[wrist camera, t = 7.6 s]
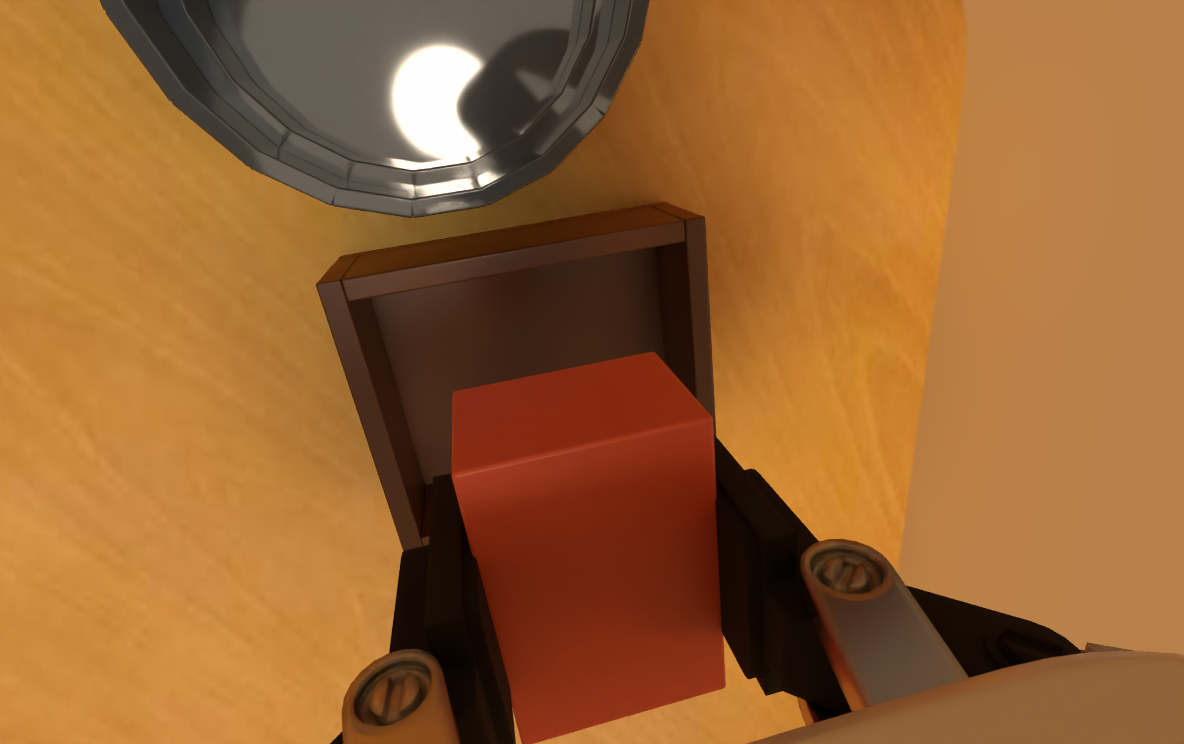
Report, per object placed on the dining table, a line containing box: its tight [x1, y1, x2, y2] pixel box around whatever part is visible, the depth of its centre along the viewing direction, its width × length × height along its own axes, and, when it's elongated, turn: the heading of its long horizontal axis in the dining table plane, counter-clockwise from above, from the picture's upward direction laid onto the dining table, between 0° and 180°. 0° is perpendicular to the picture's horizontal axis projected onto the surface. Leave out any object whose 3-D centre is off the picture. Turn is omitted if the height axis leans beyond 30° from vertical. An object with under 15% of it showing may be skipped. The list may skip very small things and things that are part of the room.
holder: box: [316, 202, 716, 551], centre depth 25 cm, size 14×12×5 cm
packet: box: [452, 352, 726, 744], centre depth 11 cm, size 4×6×3 cm, turn 7°
